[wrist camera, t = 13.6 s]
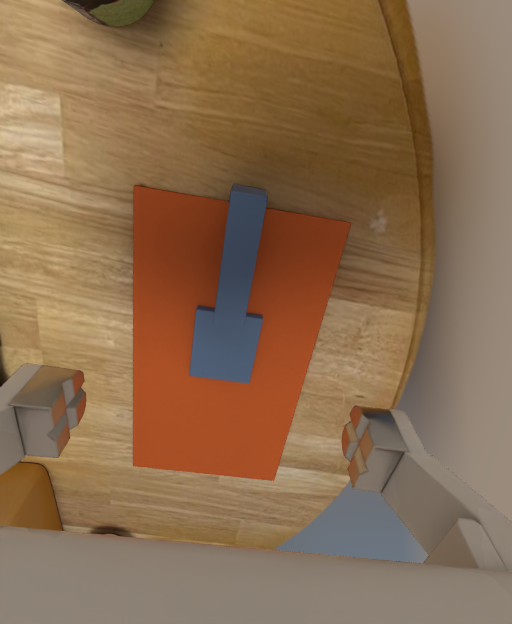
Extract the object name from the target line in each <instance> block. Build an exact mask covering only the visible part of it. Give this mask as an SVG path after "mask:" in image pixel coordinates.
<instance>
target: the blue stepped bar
mask: <svg viewBox="0 0 512 624" xmlns="http://www.w3.org/2000/svg"><path fill="white" fill-rule="evenodd" d="M267 199H268V197H267V192H266V190H264V189H258V188H253V187H248V186H242V185H237V184H233V186H232V189H231V193H230V200H229V208H228V215H227V223H226V230H225V237H224V245H223V252H222V260H221V267H220V275H219V282H218V290H217V297H216V305H215V308H212V307H206V306H199V305H198V306H197V308H196V314H195V323H194V333H193V342H192V352H191V361H190V371H189V376H194V377H202V378H210V379H217V380H225V381H232V382H240V383H247V384H249V383H250V379H251V374H252V369H253V364H254V360H255V355H256V350H257V346H258V341H259V336H260V332H261V327H262V322H263V315H259V314H252V313H247V307H248V302H249V297H250V291H251V286H252V280H253V275H254V269H255V264H256V259H257V253H258V248H259V242H260V237H261V232H262V226H263V221H264V215H265V210H266V204H267Z"/></svg>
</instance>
